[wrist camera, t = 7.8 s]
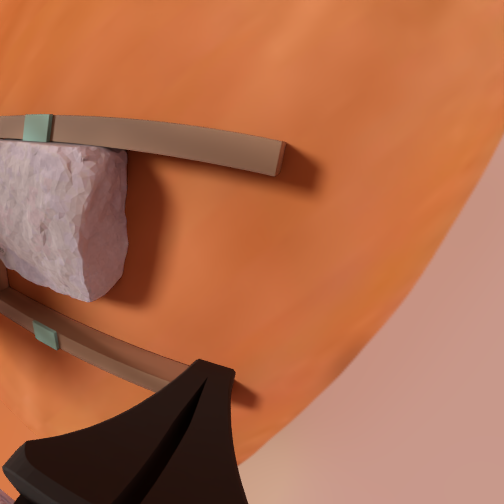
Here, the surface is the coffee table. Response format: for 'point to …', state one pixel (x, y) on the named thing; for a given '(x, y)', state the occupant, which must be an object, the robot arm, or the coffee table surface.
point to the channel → (137, 139)
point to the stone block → (64, 215)
